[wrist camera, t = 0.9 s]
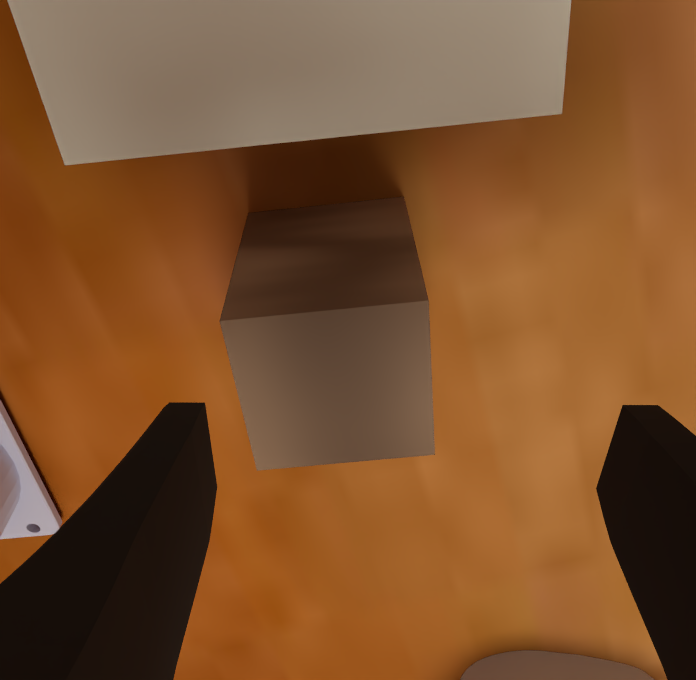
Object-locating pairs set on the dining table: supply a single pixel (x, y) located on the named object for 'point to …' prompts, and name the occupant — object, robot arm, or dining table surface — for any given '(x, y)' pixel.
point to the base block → (283, 69)
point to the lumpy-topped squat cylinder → (550, 667)
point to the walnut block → (331, 335)
